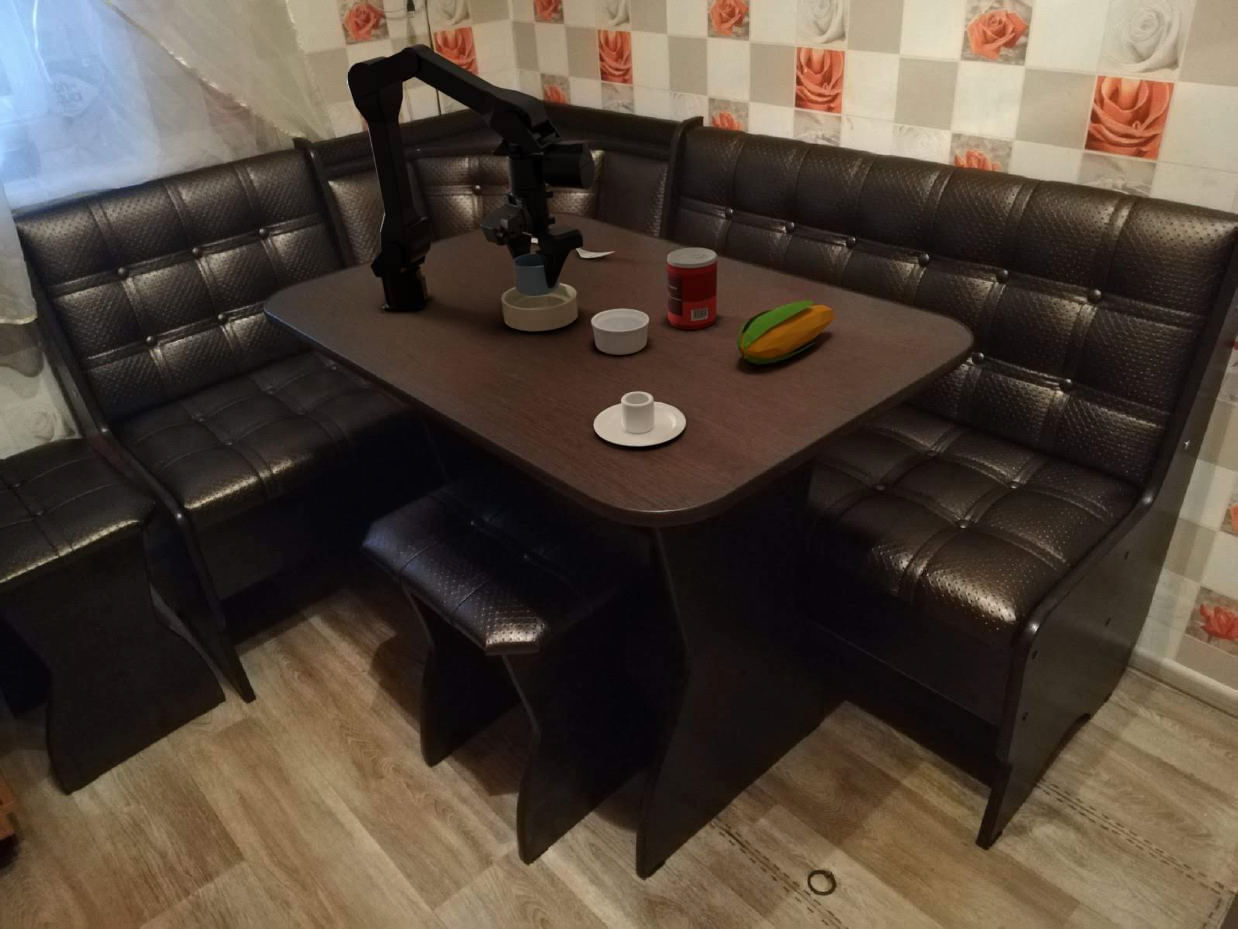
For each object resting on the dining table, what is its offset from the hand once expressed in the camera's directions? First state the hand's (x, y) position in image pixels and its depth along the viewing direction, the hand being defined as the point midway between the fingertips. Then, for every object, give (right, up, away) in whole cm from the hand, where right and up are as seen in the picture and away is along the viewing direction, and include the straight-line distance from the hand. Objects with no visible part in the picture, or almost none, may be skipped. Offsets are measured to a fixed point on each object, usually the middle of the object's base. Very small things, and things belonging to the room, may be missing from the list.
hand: (537, 282), depth 150 cm
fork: (+3, +13, +33) cm, 35 cm away
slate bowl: (0, -1, +1) cm, 1 cm away
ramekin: (+14, -11, -7) cm, 19 cm away
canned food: (+25, -6, 0) cm, 26 cm away
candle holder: (+16, -25, -29) cm, 42 cm away
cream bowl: (0, -5, +3) cm, 6 cm away
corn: (+38, -13, -11) cm, 42 cm away
